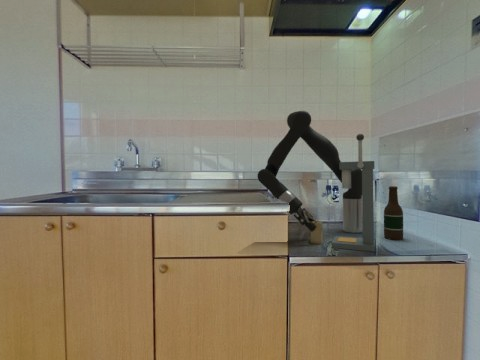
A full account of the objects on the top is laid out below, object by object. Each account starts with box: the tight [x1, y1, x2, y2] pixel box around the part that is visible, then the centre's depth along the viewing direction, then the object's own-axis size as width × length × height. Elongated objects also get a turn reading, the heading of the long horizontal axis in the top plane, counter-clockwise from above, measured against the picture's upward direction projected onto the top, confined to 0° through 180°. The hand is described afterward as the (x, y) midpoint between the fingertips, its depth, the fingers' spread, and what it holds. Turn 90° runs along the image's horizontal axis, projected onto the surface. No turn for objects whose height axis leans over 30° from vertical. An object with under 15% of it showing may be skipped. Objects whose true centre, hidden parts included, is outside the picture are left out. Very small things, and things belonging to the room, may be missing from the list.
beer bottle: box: [383, 185, 404, 241], centre depth 123 cm, size 8×8×24 cm
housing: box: [310, 218, 324, 245], centre depth 118 cm, size 4×4×10 cm
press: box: [331, 133, 376, 253], centre depth 111 cm, size 13×16×46 cm
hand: (315, 228), depth 118 cm, fingers open, 8 cm apart
